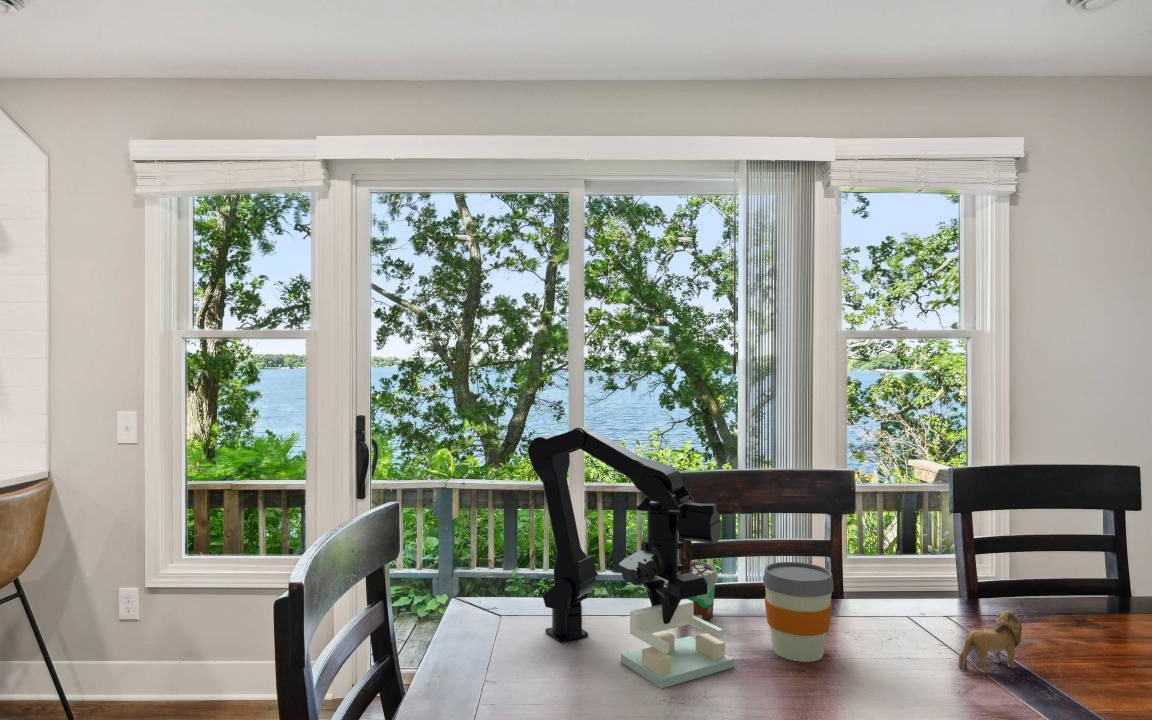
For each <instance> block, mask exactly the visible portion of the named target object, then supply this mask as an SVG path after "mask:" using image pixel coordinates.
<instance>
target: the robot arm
mask: <svg viewBox="0 0 1152 720" xmlns="http://www.w3.org/2000/svg"><path fill="white" fill-rule="evenodd" d="M578 450H582V451H583V452H584V453H587V454H588V455H590V456H592V457H593V458H595V459H596V460H598V461H600V462H602V463H603V464H605V465H607V466H608V467H610V468H612V469H614V470H615V471H616V472H619V473H620V474H622V475H624V476H626V477H627V478H628V479H629V480H630V482H632V483H633V485H634V487H635V489H637V490H638V491H640V493H641V494H642V495H644V496H645V497H644V498H643V500H642V501H641V502H640V503H639V504H637V506H636V507H635V510H637V511H641V512H646V513H647V514H646V518H647V519H646V521H647V523H646V526H647V527H646V534H647V535H646V539H645V540H642V542H641V544H640V550H639V551H638V552H635V553H633V554H631V555H627V556H625V557H624V558H623V559H622V560H621V561H620V562H619V563H618V566H619V570H620V572H621V575H622V579H623V581H625V582H629V583H631V584H632V585H633V586H640V585H641V586H642V587H643V588H644V589H645V590H646V593H647V595H648V598H649V601H650V604H651V606H656V605H661V604H662V615H663V622H664V624H669V623H670V621H671V619H672V617H673V615H674V613H675V611H676V609H677V607H678V605H679V603H680V601H681V600H684V599H688V598H690V597H694V596H699V595H704V594H707V593H708V582H707V580H706V579H705V578H704V577H701V576H699V575H696V574H694V573H689V572H687V573H681V574H678V573H679V572H683V571H684V564H682V563H680V562H679V550H681V549H684V542H682V541H680V540H679V538H680V537H682V538H683V540H685V541H691V542H698V543H699V542H700V543H707V544H714V545H716V544H717V543H718V542H719V540H720V537H721V533H722V524H723V523H722V520H721V516H720V513H719V511H718V506H717V504H716V503H700V502H695V499H694V497H693V496H692V495H691V493H690V491H689V490H688V489H687V487H686V486H685V484H684V483H683V477H682V473H681V472H680V470H679V469H677V468H676V467H674V466H671V465H668V464H665V463H663V462H660V461H658V460H657V461H656V460H651V459H647V458H646V457H645V458H644V457H642V456H640V455H638V454H636V453H634V452H633V451H631V450H630V449H627V448H626V447H624V446H622V445H620V444H619V443H617V442H615V440H614V441H613V440H612V439H610V438H608V436H604V435H602V434H601V433H599V432H598V431H596V430H595V429H594V428H593V427H591V426H589V425H586V426H585V425H584V426H579V427H575V428H573V429H571V430H569V431H566V432H563V433H560V434H550V435H544V436H542V435H541V436H538V437H535V438H534V439H533V440H531V442H530V443H529V445H528V446H527V456H528V458H529V461H530V464H531V466H532V467H531V468H532V469H533V472H534V473H535V474H536V475H537V477H538V478H539V479H540V481H541V482H542V486H543V490H544V494H545V495H544V496H545V499H546V505H547V509H548V514H549V520H550V526H551V530H552V536H553V540H554V545H555V550H556V558H555V563H554V567H553V583H554V585H553V586H552V587H550V589H548V591H547V592H546V593H545V594H544V595H543V596H542V598H543V602H544V603H543V604H544V606H545V608H550V609H551V627H547V628H545V632H546V633H547V635H549V636H551V637H552V638H553V639H555V640H557V641H558V642H560V643H563V642H567V641H572V640H575V639H580V638H585V637H588V636H589V632H588V631H586V630H585V629H583V615H582V613H583V612H582V608H583V607H582V602H583V601H584V600H587V599H588V597H589V594H590V592H591V591H592V590H593V589H594V588H595V586H596V584H597V577H598V576H599V574H598V572H597V569H596V566H595V558H594V555H589V556H587V555H586V553H585V552H584V550H583V549H582V546H581V542H580V538H579V537H580V536H579V531H578V527H577V522H576V518H575V517H576V516H575V513H574V507H573V503H572V498H571V497H572V496H571V493H570V487H569V483H568V473H569V468H570V463H571V458H570V454H571V453H573V452H576V451H578ZM674 497H675V498H674Z"/></svg>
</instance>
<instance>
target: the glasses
mask: <svg viewBox="0 0 1152 720" xmlns="http://www.w3.org/2000/svg"><path fill="white" fill-rule="evenodd" d="M688 625H690V626H692V627H694V628H695V629H698V630H700V631H702V632H704V634H705V633H707V634H709V635H711V636H713V637H715V638H717V639H719V640H721V639H724V629H723V628H721V627H719V626H717V625H714V624H713V623H710V622H709V621H707V622H706V621H704V620H702V619H700V618H698V617H696V616H694V602H692V601H690V600H688V598H685V599H681V601H680V603H679V605H678V607H677V609H676V611H675V613H674V615H673V617H672V619H671V621H670V623H669V624H664V622H663V615H662V604H661V605H656V606H652V605H651V606H649V607H643V608H638V609H634V610H630V611H629V634H630V635H632V636H634V637H636V638H637V639H639V640H641V641H642V642H644V643H646V644H647V645H649V646H652V647H654V648H656V649H658V650H659V651H661V652H663V653H668V652H669V643H668V642H666V641H664V640H662V639H661V638H659V637H657V636H655V635H653V634H652V633H656V632H660V631H664V630H665V631H667V630H668V631H669V630H672V629H676V628H681V627H684V626H688Z"/></svg>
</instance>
